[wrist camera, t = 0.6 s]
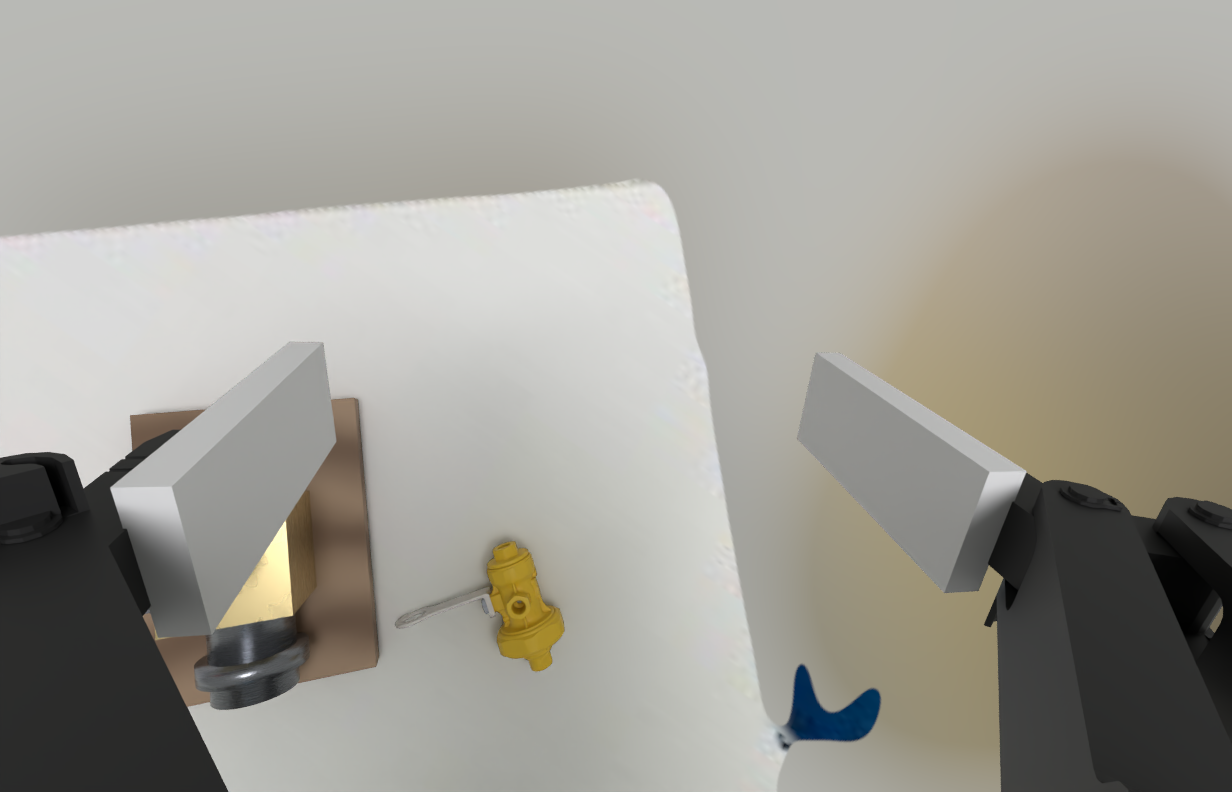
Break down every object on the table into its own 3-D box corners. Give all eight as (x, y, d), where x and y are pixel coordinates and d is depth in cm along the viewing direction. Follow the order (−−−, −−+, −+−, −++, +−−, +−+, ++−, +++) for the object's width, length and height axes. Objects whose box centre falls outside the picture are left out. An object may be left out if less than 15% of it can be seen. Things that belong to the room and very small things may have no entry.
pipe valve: (324, 659, 42) (289, 727, 32) (213, 682, 39) (139, 762, 30) (305, 415, 42) (265, 409, 33) (195, 425, 40) (117, 420, 30)
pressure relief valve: (534, 527, 48) (570, 639, 48) (392, 576, 46) (430, 692, 46) (534, 543, 42) (575, 670, 43) (373, 599, 41) (416, 730, 41)
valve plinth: (379, 656, 44) (376, 666, 42) (163, 701, 40) (149, 714, 38) (357, 399, 45) (354, 397, 43) (144, 416, 40) (130, 415, 38)
